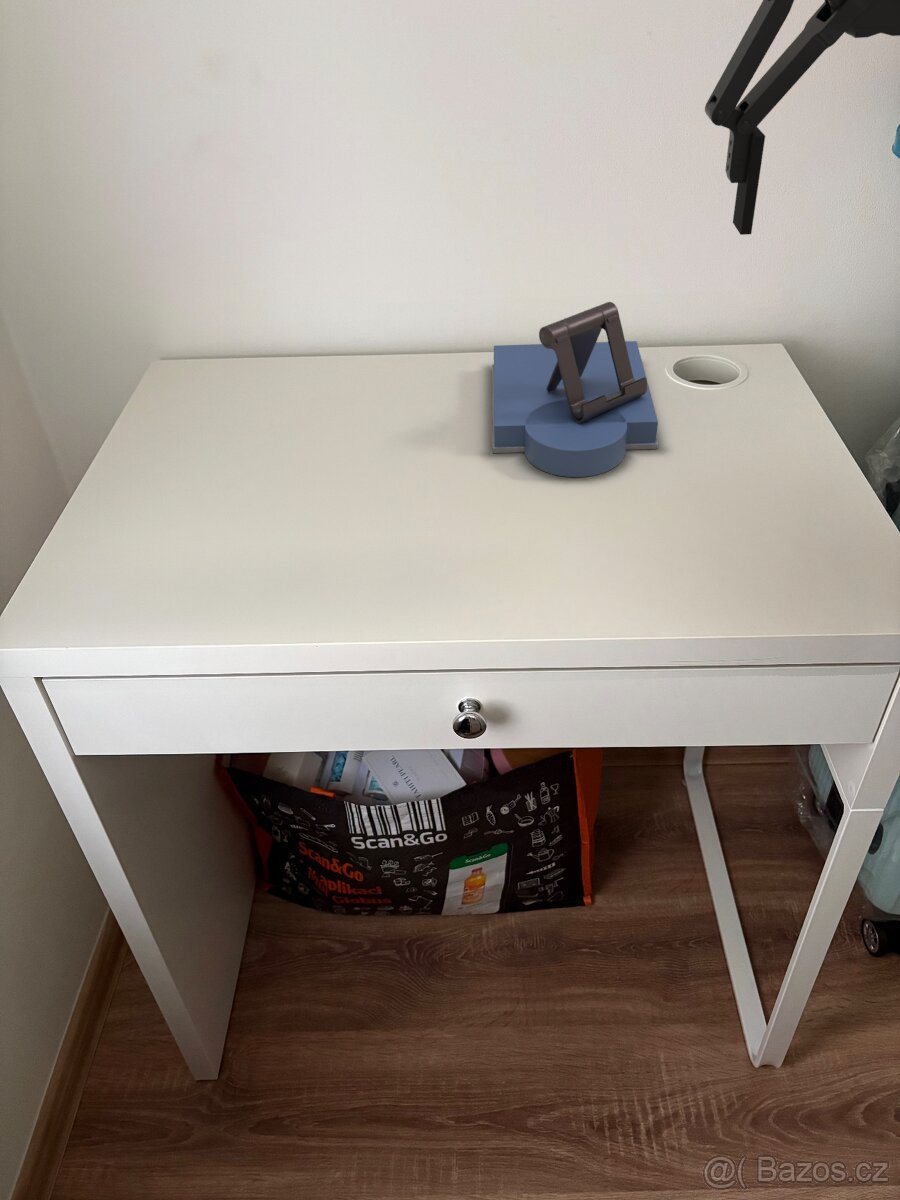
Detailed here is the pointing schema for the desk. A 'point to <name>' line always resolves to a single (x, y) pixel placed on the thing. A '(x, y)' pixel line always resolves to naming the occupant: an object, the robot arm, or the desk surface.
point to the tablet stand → (574, 351)
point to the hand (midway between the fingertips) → (837, 224)
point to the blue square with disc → (566, 412)
